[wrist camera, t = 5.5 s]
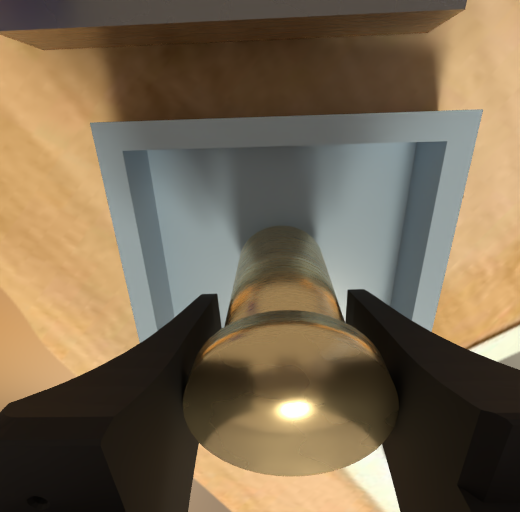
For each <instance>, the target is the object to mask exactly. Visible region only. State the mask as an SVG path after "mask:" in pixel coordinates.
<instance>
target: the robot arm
mask: <svg viewBox="0 0 520 512" xmlns="http://www.w3.org/2000/svg"><path fill="white" fill-rule="evenodd" d="M345 323H347V324H349V325H351V326H352V327H354V328H356V329H357V330H358V331H360V332H361V333H363V334H364V335H365V336H366V337H367V338H368V339H369V340H370V341H371V342H372V343H373V344H374V345H375V347H376V348H377V349H378V351H379V352H380V354H381V356H382V358H383V360H384V362H385V365H386V367H387V369H388V372H389V374H390V376H391V379H392V381H393V383H394V385H395V388H396V391H397V395H398V401H399V411H398V417H397V420H396V423H395V426H394V428H393V430H392V431H391V433H390V435H389V436H388V437H387V439H386V440H385V441H384V442H383V443H382V445H383V448H384V452H385V455H386V459H387V462H388V466H389V470H390V473H391V477H392V481H393V484H394V488H395V492H396V496H397V500H398V504H399V508H400V511H401V512H520V370H518V369H515V368H512V367H510V366H507V365H504V364H502V363H499V362H496V361H494V360H491V359H489V358H486V357H484V356H481V355H479V354H477V353H474V352H472V351H469V350H467V349H465V348H463V347H460V346H458V345H456V344H454V343H452V342H450V341H448V340H446V339H444V338H442V337H440V336H438V335H436V334H434V333H432V332H431V331H429V330H427V329H425V328H424V327H422V326H420V325H418V324H417V323H415V322H413V321H412V320H410V319H409V318H407V317H405V316H404V315H402V314H401V313H399V312H398V311H396V310H395V309H393V308H392V307H390V306H389V305H387V304H386V303H384V302H383V301H381V300H380V299H379V298H377V297H376V296H374V295H373V294H371V293H370V292H368V291H366V290H365V289H349V290H347V305H346V320H345ZM220 329H222V327H221V319H220V311H219V303H218V295H217V294H201V295H200V296H199V297H198V298H196V299H195V300H194V301H193V302H192V303H191V304H190V305H188V306H187V307H186V308H185V309H184V310H183V311H181V312H180V313H179V314H178V315H177V316H176V317H174V318H173V319H172V320H171V321H170V322H168V323H167V324H166V325H164V326H163V327H162V328H160V329H159V330H158V331H157V332H155V333H154V334H153V335H151V336H150V337H148V338H147V339H146V340H144V341H143V342H141V343H140V344H138V345H136V346H135V347H133V348H132V349H130V350H128V351H127V352H125V353H123V354H121V355H120V356H118V357H116V358H114V359H112V360H110V361H108V362H107V363H105V364H103V365H101V366H99V367H97V368H95V369H93V370H91V371H89V372H87V373H85V374H83V375H80V376H78V377H76V378H74V379H71V380H69V381H67V382H65V383H62V384H60V385H57V386H55V387H52V388H50V389H47V390H44V391H41V392H39V393H36V394H33V395H31V396H28V397H25V398H23V399H20V400H17V401H14V402H11V403H9V404H8V405H7V406H6V407H5V408H4V409H3V410H2V411H1V412H0V512H188V507H189V500H190V493H191V487H192V480H193V474H194V468H195V462H196V456H197V450H198V444H199V442H198V441H197V439H196V438H195V437H194V436H193V434H192V433H191V431H190V429H189V428H188V426H187V423H186V421H185V418H184V413H183V396H184V392H185V388H186V385H187V382H188V378H189V375H190V372H191V369H192V365H193V362H194V360H195V358H196V356H197V353H198V352H199V350H200V349H201V348H202V346H203V345H204V344H205V343H206V342H207V340H208V339H209V338H210V337H211V336H213V335H214V334H215V333H216V332H218V331H219V330H220Z"/></svg>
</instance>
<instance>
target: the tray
mask: <svg viewBox="0 0 520 512" xmlns="http://www.w3.org/2000/svg"><path fill="white" fill-rule="evenodd" d="M482 112H483V109H482V110H452V111H422V112H393V113H363V114H334V115H304V116H275V117H245V118H216V119H186V120H156V121H127V122H97V123H90V125H91V130H92V134H93V139H94V143H95V147H96V152H97V156H98V161H99V165H100V169H101V174H102V178H103V183H104V187H105V191H106V196H107V200H108V205H109V209H110V214H111V218H112V222H113V227H114V231H115V236H116V240H117V244H118V249H119V253H120V258H121V262H122V266H123V271H124V275H125V280H126V284H127V288H128V293H129V297H130V302H131V306H132V310H133V315H134V319H135V324H136V328H137V332H138V337H139V341H140V343H141V342H143V341H144V340H146V339H147V338H148V337H150V336H151V335H153V334H154V333H155V332H157V331H158V330H159V329H160V328H162V327H163V326H164V325H166V324H167V323H168V322H170V321H171V320H172V319H173V318H174V317H176V316H177V315H178V314H179V313H180V312H181V311H183V310H184V309H185V308H186V307H187V306H188V305H190V304H191V303H192V302H193V301H194V300H195V299H196V298H198V297H199V296H200V295H201V294H217V295H218V303H219V311H220V319H221V327H222V328H224V326H225V322H226V317H227V312H228V308H229V303H230V299H231V294H232V290H233V285H234V280H235V276H236V271H237V267H238V262H239V258H240V254H241V251H242V248H243V246H244V245H245V243H246V242H247V241H248V240H249V239H250V238H251V237H252V236H253V235H254V234H256V233H257V232H259V231H261V230H263V229H265V228H268V227H272V226H291V227H295V228H298V229H300V230H302V231H304V232H306V233H307V234H309V235H310V236H311V237H312V238H313V239H314V240H315V241H316V242H317V244H318V245H319V247H320V249H321V252H322V255H323V258H324V261H325V264H326V267H327V270H328V273H329V276H330V279H331V282H332V285H333V288H334V291H335V294H336V297H337V300H338V303H339V306H340V309H341V312H342V315H343V318H344V321H345V320H346V305H347V290H349V289H365V290H366V291H368V292H370V293H371V294H373V295H374V296H376V297H377V298H379V299H380V300H381V301H383V302H384V303H386V304H387V305H389V306H390V307H392V308H393V309H395V310H396V311H398V312H399V313H401V314H402V315H404V316H405V317H407V318H409V319H410V320H412V321H413V322H415V323H417V324H418V325H420V326H422V327H424V328H425V329H427V330H429V331H431V332H432V327H433V323H434V319H435V314H436V310H437V306H438V302H439V297H440V293H441V289H442V284H443V280H444V276H445V271H446V267H447V263H448V258H449V254H450V250H451V246H452V241H453V237H454V233H455V228H456V224H457V220H458V215H459V211H460V207H461V202H462V198H463V194H464V190H465V185H466V181H467V177H468V172H469V168H470V164H471V159H472V155H473V151H474V147H475V142H476V138H477V134H478V129H479V125H480V121H481V116H482Z"/></svg>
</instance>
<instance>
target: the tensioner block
mask: <svg viewBox="0 0 520 512" xmlns="http://www.w3.org/2000/svg"><path fill="white" fill-rule="evenodd" d="M466 2H467V0H0V35H3V36H6V37H9V38H12V39H14V40H17V41H20V42H23V43H25V44H28V45H31V46H34V47H37V48H39V49H42V50H52V49H74V48H97V47H119V46H141V45H164V44H186V43H208V42H231V41H253V40H276V39H298V38H320V37H343V36H365V35H388V34H410V33H428V32H430V31H431V30H433V29H434V28H436V27H438V26H439V25H441V24H442V23H444V22H445V21H447V20H449V19H450V18H452V17H453V16H455V15H457V14H458V13H460V12H461V11H463V10H464V9H465V7H466Z"/></svg>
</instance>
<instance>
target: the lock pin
mask: <svg viewBox="0 0 520 512" xmlns="http://www.w3.org/2000/svg"><path fill="white" fill-rule="evenodd" d="M398 411H399V401H398V395H397V391H396V388H395V385H394V383H393V381H392V379H391V376H390V374H389V372H388V369H387V367H386V365H385V362H384V360H383V358H382V356H381V354H380V352H379V351H378V349H377V348H376V347H375V345H374V344H373V343H372V342H371V341H370V340H369V339H368V338H367V337H366V336H365V335H364V334H363V333H361V332H360V331H358V330H357V329H356V328H354V327H352V326H351V325H349V324H347V323H345V321H344V318H343V315H342V312H341V309H340V306H339V303H338V300H337V297H336V294H335V291H334V288H333V285H332V282H331V279H330V276H329V273H328V270H327V267H326V264H325V261H324V258H323V255H322V252H321V249H320V247H319V245H318V244H317V242H316V241H315V240H314V239H313V238H312V237H311V236H310V235H309V234H307V233H306V232H304V231H302V230H300V229H298V228H295V227H291V226H272V227H268V228H265V229H263V230H261V231H259V232H257V233H256V234H254V235H253V236H252V237H251V238H250V239H249V240H248V241H247V242H246V243H245V245H244V246H243V248H242V251H241V254H240V258H239V262H238V267H237V271H236V276H235V280H234V285H233V290H232V294H231V299H230V303H229V308H228V312H227V317H226V322H225V326H224V328H222V329H220V330H219V331H218V332H216V333H215V334H214V335H213V336H211V337H210V338H209V339H208V340H207V342H206V343H205V344H204V345H203V346H202V348H201V349H200V350H199V352H198V353H197V356H196V358H195V360H194V362H193V365H192V369H191V372H190V375H189V378H188V382H187V385H186V388H185V392H184V396H183V413H184V418H185V421H186V423H187V426H188V428H189V429H190V431H191V433H192V434H193V436H194V437H195V438H196V439H197V441H198V442H199V443H200V444H201V445H202V446H203V447H204V448H205V449H207V450H208V451H209V452H211V453H212V454H213V455H215V456H217V457H218V458H220V459H222V460H223V461H225V462H228V463H230V464H232V465H234V466H237V467H239V468H242V469H245V470H249V471H252V472H257V473H262V474H267V475H275V476H308V475H316V474H322V473H327V472H330V471H334V470H338V469H341V468H343V467H346V466H349V465H351V464H353V463H355V462H358V461H359V460H361V459H363V458H365V457H366V456H368V455H369V454H371V453H372V452H373V451H375V450H376V449H377V448H378V447H379V446H380V445H381V444H382V443H383V442H384V441H385V440H386V439H387V437H388V436H389V435H390V433H391V431H392V430H393V428H394V426H395V423H396V420H397V417H398Z"/></svg>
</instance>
